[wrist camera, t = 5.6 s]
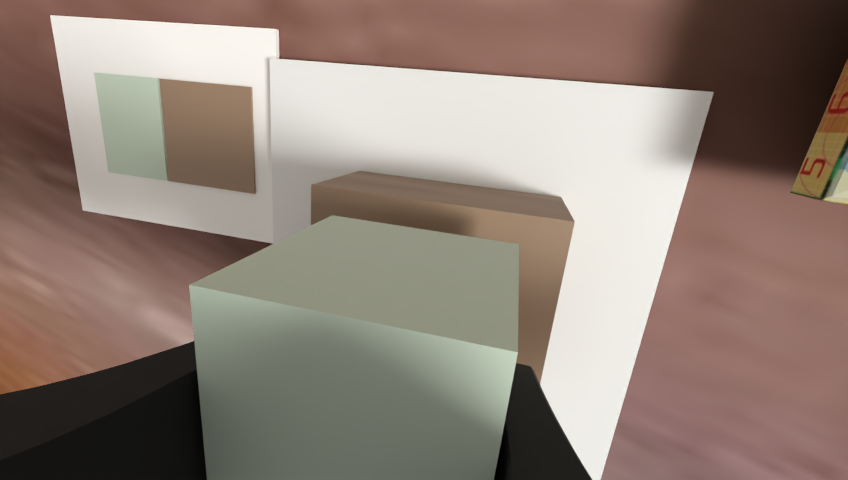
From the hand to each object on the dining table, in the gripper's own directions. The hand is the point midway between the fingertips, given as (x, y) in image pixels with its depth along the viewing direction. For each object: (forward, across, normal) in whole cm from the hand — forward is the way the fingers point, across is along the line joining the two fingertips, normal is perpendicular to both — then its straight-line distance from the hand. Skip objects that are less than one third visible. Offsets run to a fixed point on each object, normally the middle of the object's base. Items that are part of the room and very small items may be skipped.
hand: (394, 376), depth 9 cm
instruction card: (+7, +12, -4) cm, 14 cm away
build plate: (+7, 0, +2) cm, 7 cm away
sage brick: (+1, 0, 0) cm, 1 cm away
